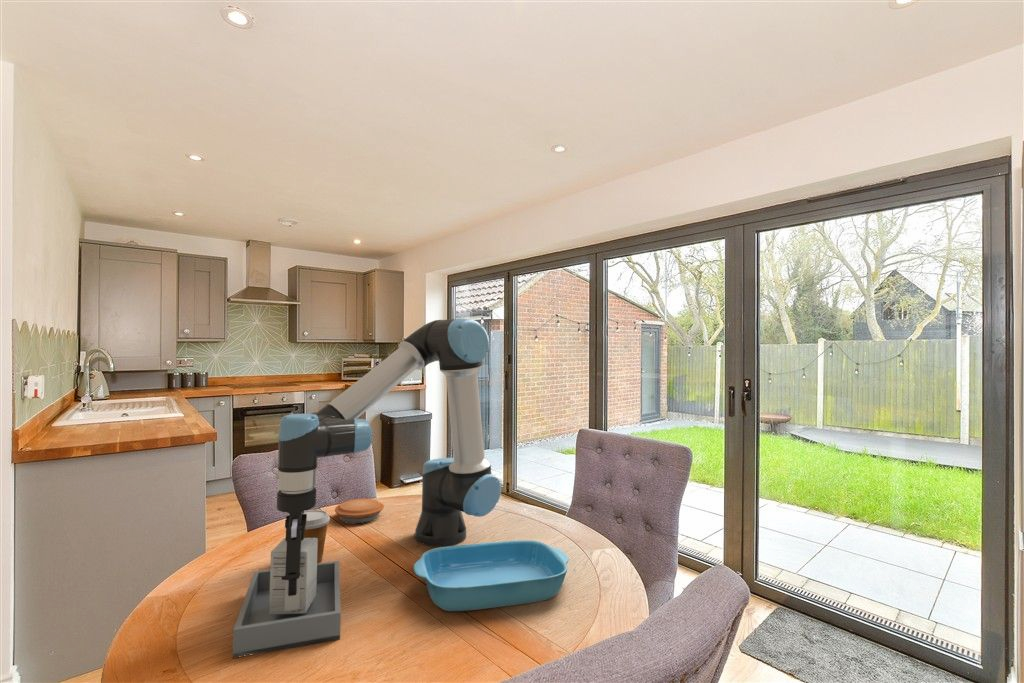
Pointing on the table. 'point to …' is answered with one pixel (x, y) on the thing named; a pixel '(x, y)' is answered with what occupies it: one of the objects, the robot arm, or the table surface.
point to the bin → (288, 616)
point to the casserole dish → (492, 574)
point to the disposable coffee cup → (317, 528)
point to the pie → (359, 510)
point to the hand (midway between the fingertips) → (293, 598)
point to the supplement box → (306, 581)
